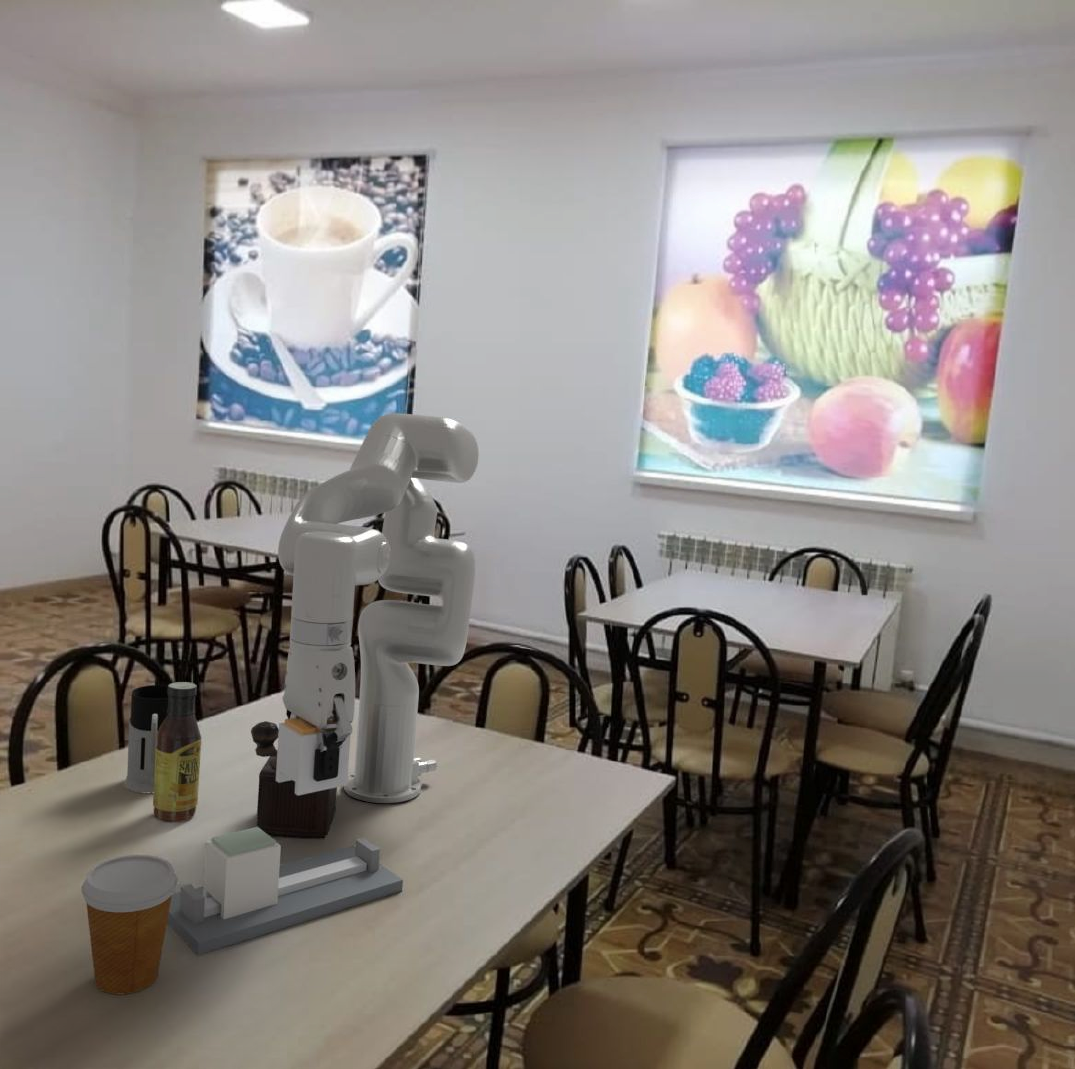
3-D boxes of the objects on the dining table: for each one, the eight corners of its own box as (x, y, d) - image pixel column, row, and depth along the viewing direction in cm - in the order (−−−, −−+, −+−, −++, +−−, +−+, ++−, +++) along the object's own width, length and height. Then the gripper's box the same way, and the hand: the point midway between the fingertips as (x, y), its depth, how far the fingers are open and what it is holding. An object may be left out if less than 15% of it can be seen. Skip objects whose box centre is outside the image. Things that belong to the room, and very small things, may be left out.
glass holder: (182, 771, 167) (186, 683, 165) (181, 806, 153) (185, 710, 151) (125, 773, 164) (129, 683, 162) (119, 808, 150) (122, 711, 149)
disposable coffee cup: (96, 952, 113) (99, 851, 112) (183, 955, 114) (188, 854, 112) (64, 1002, 104) (67, 892, 102) (159, 1005, 105) (164, 896, 103)
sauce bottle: (182, 827, 146) (188, 694, 144) (143, 820, 147) (148, 688, 145) (206, 810, 153) (212, 683, 150) (168, 803, 154) (173, 677, 151)
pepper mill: (265, 806, 156) (271, 693, 154) (337, 811, 157) (344, 698, 154) (240, 850, 141) (247, 726, 138) (320, 855, 141) (328, 731, 139)
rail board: (353, 855, 142) (357, 790, 141) (402, 890, 133) (407, 821, 132) (155, 910, 123) (158, 835, 122) (198, 955, 114) (201, 875, 113)
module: (324, 770, 133) (328, 711, 132) (347, 785, 129) (351, 723, 128) (275, 780, 128) (279, 718, 127) (297, 795, 124) (301, 732, 123)
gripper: (385, 644, 122) (375, 787, 124) (312, 614, 135) (304, 745, 137) (331, 650, 117) (321, 800, 119) (260, 619, 129) (253, 755, 132)
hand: (312, 769), depth 128 cm, fingers closed on module, 5 cm apart
